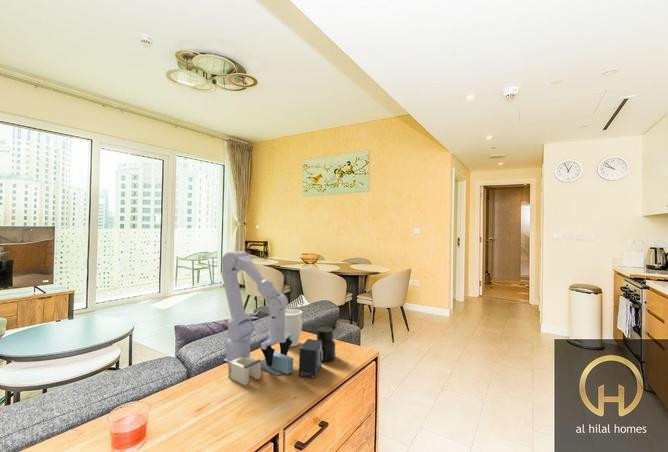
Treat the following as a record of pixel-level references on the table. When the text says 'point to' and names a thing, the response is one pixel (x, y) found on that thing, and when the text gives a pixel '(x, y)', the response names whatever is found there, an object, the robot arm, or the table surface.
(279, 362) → the slab
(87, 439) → the table surface
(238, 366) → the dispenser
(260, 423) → the table surface
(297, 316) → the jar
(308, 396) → the table surface
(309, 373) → the small box
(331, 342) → the ink bottle
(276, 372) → the mat
